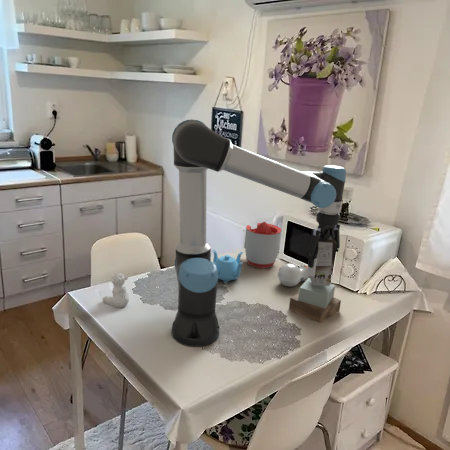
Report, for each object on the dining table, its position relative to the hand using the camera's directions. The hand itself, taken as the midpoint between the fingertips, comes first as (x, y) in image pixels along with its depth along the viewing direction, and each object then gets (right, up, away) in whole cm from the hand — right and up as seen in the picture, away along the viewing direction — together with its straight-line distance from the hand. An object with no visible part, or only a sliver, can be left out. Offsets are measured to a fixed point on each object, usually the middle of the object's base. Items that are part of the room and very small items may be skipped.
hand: (319, 271), depth 152 cm
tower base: (-1, -15, +4) cm, 15 cm away
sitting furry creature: (-71, -11, -1) cm, 72 cm away
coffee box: (0, -3, +1) cm, 4 cm away
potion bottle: (-6, -8, +24) cm, 26 cm away
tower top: (-1, -10, +2) cm, 10 cm away
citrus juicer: (-18, -1, +42) cm, 46 cm away
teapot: (-34, -6, +24) cm, 42 cm away
